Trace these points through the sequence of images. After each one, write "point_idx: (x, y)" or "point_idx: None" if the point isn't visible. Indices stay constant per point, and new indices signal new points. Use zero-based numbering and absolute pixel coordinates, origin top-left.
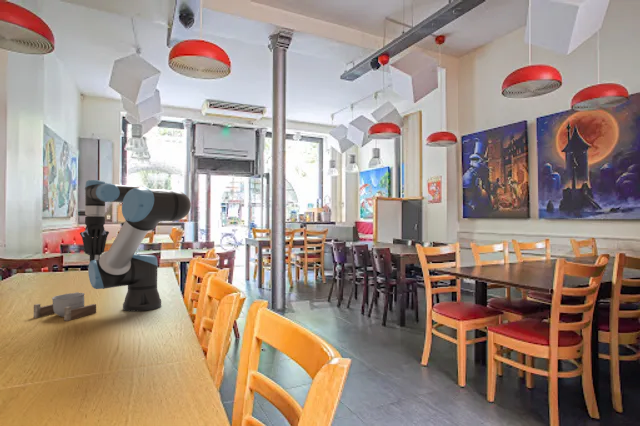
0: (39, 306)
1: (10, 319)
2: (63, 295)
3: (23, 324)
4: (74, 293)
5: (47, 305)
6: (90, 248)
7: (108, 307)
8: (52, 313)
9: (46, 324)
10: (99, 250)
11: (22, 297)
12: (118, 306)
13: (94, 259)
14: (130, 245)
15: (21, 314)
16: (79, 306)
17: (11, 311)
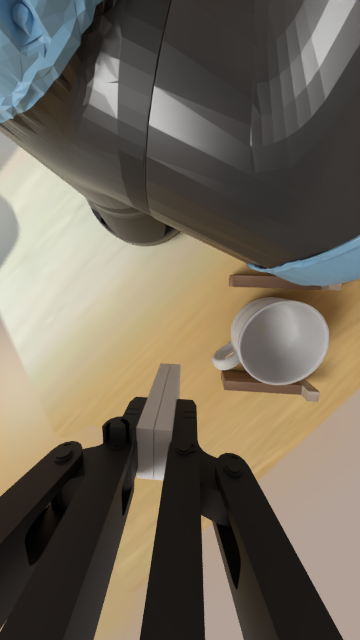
0: (308, 388)
1: (318, 415)
2: (262, 378)
3: (356, 352)
4: (243, 359)
5: (273, 392)
6: (256, 536)
7: (170, 292)
8: None
9: (351, 301)
10: (103, 475)
11: (145, 548)
12: (153, 273)
13: (175, 413)
14: None
15: (276, 430)
16: (273, 297)
17: (256, 469)
